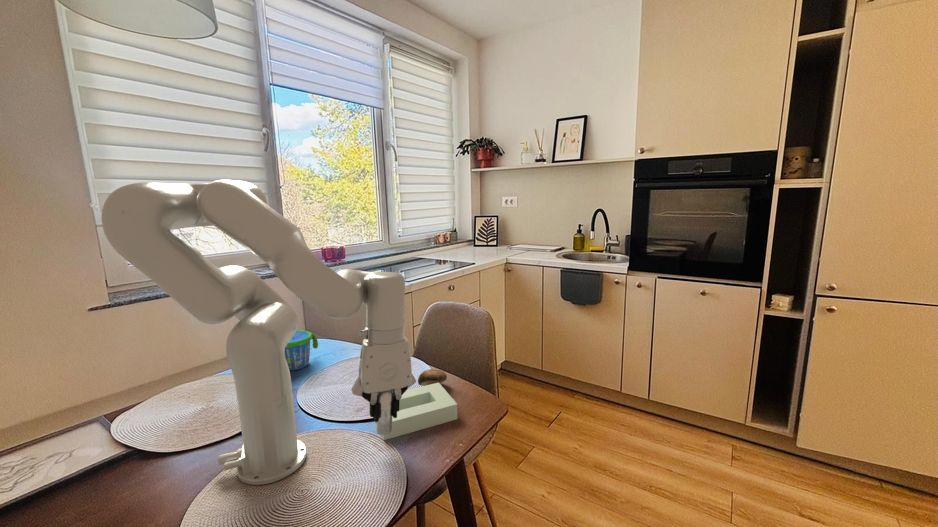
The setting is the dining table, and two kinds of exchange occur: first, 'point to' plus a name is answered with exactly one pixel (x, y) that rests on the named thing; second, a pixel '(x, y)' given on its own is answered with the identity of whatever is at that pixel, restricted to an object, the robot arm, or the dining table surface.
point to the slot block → (422, 410)
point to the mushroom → (431, 377)
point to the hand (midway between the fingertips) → (384, 415)
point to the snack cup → (299, 349)
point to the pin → (385, 412)
